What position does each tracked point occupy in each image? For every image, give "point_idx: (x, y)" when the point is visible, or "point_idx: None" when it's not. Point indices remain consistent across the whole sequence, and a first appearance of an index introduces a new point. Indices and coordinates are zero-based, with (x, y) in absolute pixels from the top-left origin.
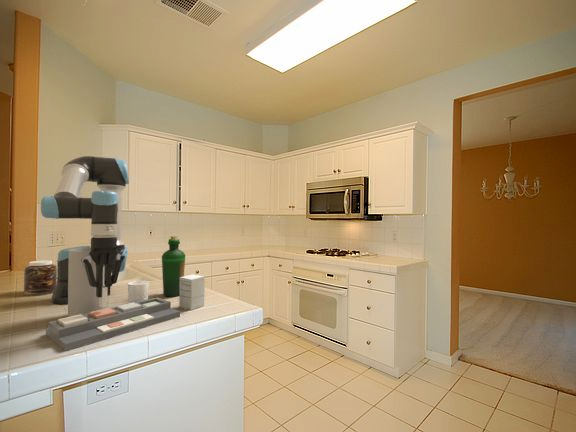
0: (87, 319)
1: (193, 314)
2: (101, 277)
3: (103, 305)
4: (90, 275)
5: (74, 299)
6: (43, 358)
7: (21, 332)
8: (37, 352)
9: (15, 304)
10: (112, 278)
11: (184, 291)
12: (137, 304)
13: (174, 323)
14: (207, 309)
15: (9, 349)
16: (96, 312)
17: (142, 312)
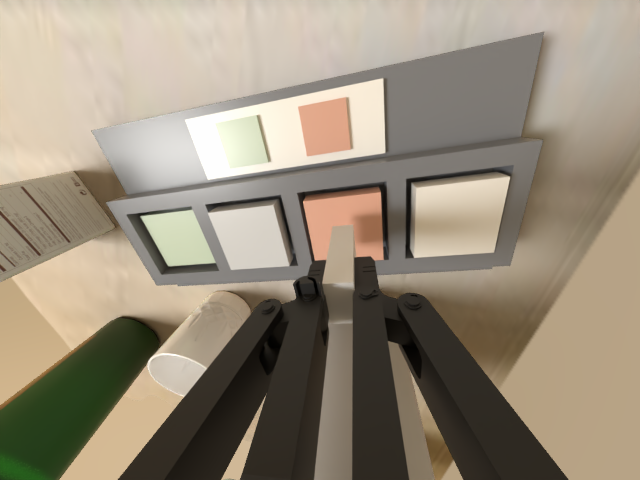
0: (416, 186)
1: (62, 117)
2: (364, 353)
3: (348, 228)
4: (494, 395)
5: (404, 363)
6: (607, 18)
7: (510, 313)
8: (578, 112)
9: (436, 457)
10: (272, 355)
11: (25, 229)
12: (220, 234)
13: (129, 61)
14: (15, 136)
15: (603, 207)
16: (365, 239)
17: (217, 183)
